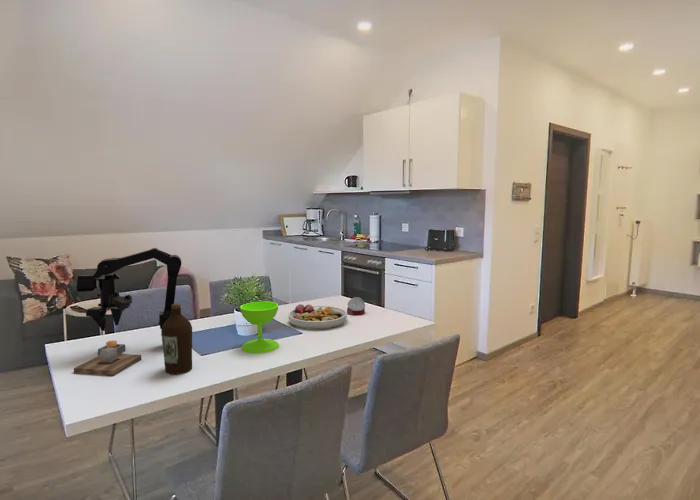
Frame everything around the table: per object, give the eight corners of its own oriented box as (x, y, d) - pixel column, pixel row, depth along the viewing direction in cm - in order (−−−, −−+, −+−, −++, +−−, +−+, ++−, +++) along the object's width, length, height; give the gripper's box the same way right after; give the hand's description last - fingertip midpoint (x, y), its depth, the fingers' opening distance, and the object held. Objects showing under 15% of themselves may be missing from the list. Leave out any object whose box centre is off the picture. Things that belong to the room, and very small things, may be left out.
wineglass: (233, 350, 181) (232, 308, 179) (254, 338, 196) (253, 300, 194) (266, 355, 175) (265, 312, 173) (285, 342, 190) (285, 303, 188)
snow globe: (364, 320, 242) (372, 306, 239) (354, 322, 234) (363, 307, 231) (349, 308, 247) (357, 294, 244) (339, 310, 239) (347, 295, 236)
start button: (119, 347, 178) (118, 340, 178) (112, 350, 174) (112, 343, 174) (110, 346, 179) (110, 340, 178) (104, 349, 175) (103, 343, 175)
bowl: (357, 320, 227) (357, 305, 226) (324, 335, 202) (324, 319, 201) (312, 312, 243) (312, 298, 242) (276, 325, 218) (276, 310, 217)
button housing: (125, 351, 180) (125, 344, 179) (114, 357, 173) (113, 350, 172) (110, 350, 181) (110, 343, 180) (98, 356, 174) (97, 349, 173)
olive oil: (178, 362, 167) (175, 299, 164) (200, 366, 163) (197, 302, 160) (156, 373, 157) (153, 306, 154) (179, 377, 154) (176, 309, 151)
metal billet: (117, 363, 165) (116, 347, 165) (110, 367, 161) (109, 351, 161) (108, 362, 166) (107, 347, 165) (100, 366, 162) (99, 351, 161)
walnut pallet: (141, 359, 170) (141, 354, 170) (113, 376, 155) (113, 370, 154) (105, 357, 173) (104, 352, 173) (74, 373, 157) (73, 368, 157)
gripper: (109, 296, 163) (112, 336, 165) (140, 286, 181) (142, 322, 183) (83, 295, 165) (86, 334, 167) (116, 285, 183) (119, 321, 185)
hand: (110, 328), depth 175 cm, fingers open, 7 cm apart
